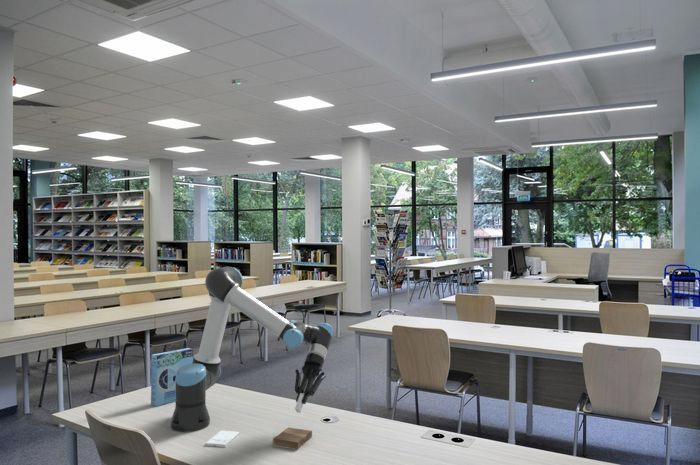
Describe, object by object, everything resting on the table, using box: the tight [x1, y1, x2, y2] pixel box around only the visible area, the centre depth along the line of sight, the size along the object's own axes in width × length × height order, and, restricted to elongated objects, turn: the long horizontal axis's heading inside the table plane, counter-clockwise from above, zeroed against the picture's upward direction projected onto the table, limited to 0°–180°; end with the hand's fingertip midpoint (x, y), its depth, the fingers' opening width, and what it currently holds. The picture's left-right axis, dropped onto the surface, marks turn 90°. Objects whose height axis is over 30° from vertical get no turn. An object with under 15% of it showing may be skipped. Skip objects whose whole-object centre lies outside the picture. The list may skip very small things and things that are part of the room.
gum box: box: [150, 347, 194, 407], centre depth 233 cm, size 20×5×23 cm, turn 141°
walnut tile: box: [272, 427, 313, 450], centre depth 184 cm, size 3×10×12 cm
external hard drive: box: [204, 429, 241, 448], centre depth 186 cm, size 2×8×12 cm
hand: (297, 410), depth 188 cm, fingers closed
